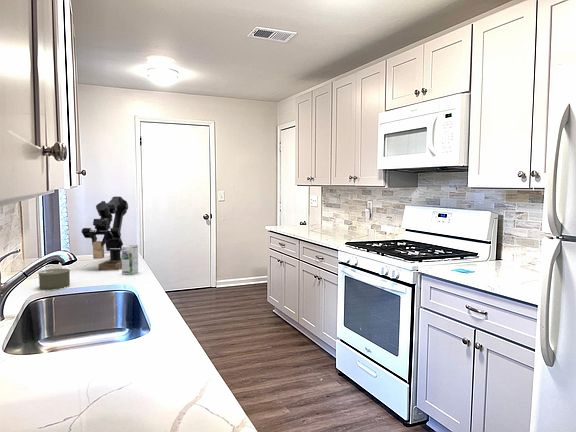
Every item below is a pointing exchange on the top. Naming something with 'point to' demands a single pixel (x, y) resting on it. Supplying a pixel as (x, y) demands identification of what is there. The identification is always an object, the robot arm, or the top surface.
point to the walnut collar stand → (110, 265)
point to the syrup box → (129, 259)
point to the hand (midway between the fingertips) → (97, 245)
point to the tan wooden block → (98, 250)
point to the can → (54, 279)
